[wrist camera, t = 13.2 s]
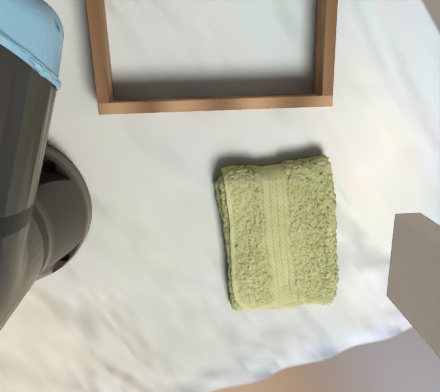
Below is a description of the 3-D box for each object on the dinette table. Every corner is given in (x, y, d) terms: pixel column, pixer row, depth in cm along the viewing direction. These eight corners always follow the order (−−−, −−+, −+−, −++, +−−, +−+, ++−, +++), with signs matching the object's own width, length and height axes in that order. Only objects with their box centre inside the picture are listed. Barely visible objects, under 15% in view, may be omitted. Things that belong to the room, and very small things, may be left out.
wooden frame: (105, 111, 42) (98, 114, 39) (86, -61, 37) (77, -71, 34) (322, 103, 43) (332, 106, 40) (330, -64, 38) (341, -74, 35)
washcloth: (229, 308, 50) (231, 324, 47) (211, 164, 44) (212, 172, 41) (337, 293, 50) (346, 307, 47) (332, 149, 45) (342, 155, 42)
